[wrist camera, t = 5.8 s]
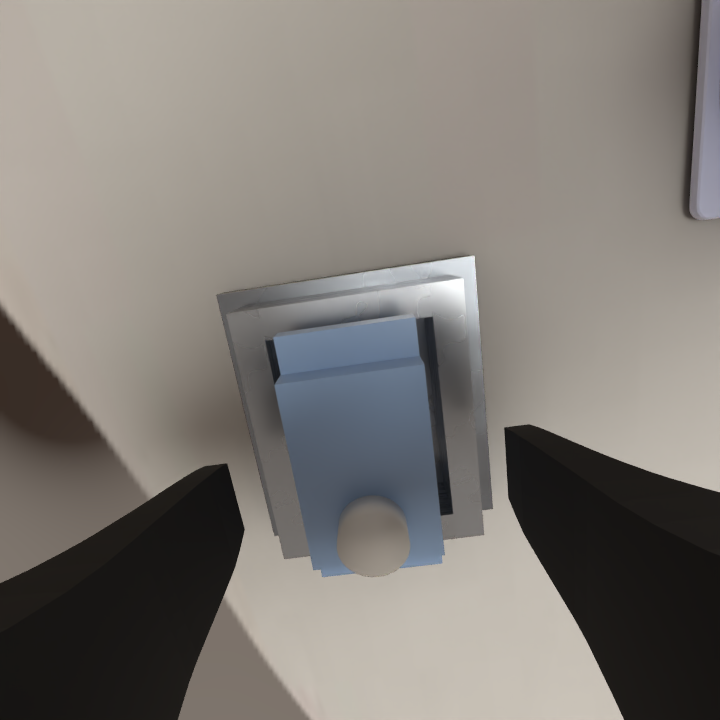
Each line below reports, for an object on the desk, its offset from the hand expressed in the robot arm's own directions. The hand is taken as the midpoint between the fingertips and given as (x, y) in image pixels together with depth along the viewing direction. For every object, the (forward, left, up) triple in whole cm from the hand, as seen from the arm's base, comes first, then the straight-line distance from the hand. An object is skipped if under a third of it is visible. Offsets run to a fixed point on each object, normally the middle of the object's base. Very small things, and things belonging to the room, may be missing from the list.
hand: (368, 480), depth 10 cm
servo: (0, 0, -5) cm, 5 cm away
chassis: (0, 0, -6) cm, 6 cm away
